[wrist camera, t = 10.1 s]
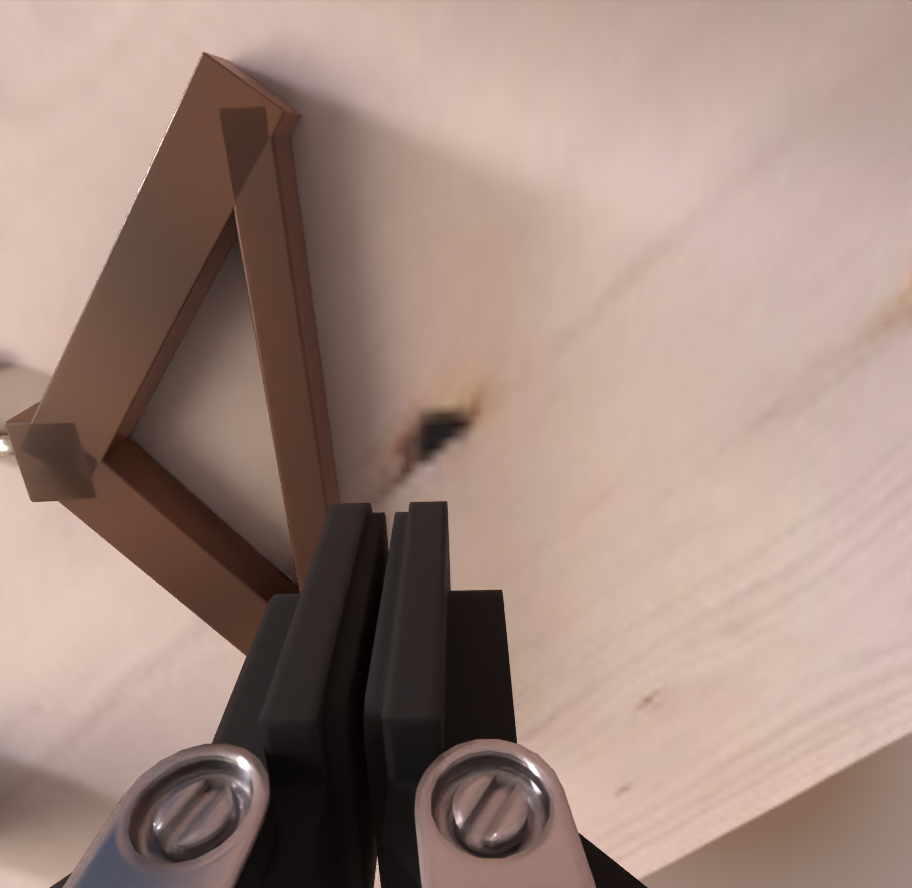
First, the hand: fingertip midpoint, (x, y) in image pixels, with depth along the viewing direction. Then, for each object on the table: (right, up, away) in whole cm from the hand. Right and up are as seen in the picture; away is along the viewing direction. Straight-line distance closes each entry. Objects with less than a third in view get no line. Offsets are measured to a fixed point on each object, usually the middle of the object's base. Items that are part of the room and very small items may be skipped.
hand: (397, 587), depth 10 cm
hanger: (-8, +2, +10) cm, 13 cm away
